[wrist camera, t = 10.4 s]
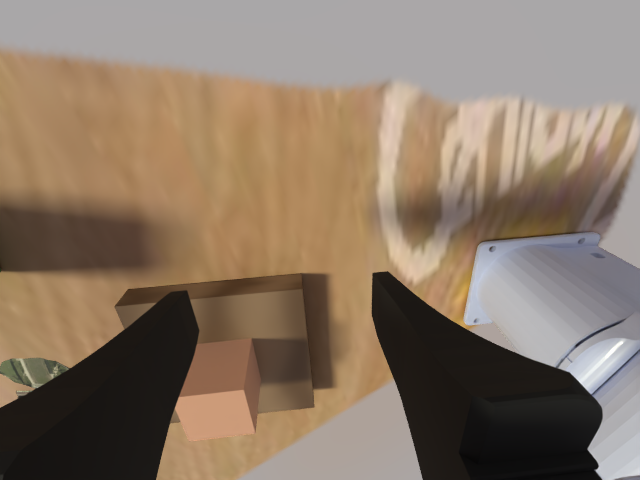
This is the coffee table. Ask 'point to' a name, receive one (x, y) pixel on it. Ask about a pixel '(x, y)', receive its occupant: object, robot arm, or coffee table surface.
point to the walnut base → (248, 329)
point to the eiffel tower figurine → (31, 372)
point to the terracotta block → (220, 391)
